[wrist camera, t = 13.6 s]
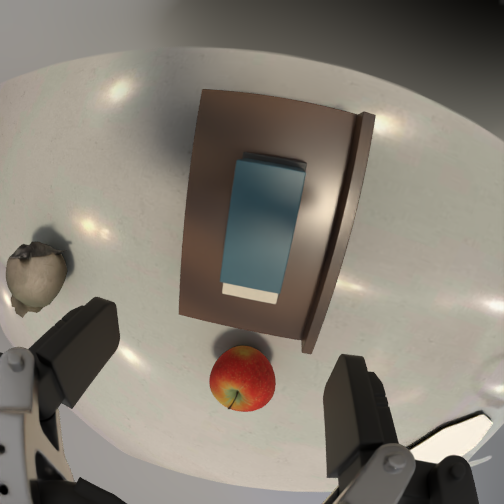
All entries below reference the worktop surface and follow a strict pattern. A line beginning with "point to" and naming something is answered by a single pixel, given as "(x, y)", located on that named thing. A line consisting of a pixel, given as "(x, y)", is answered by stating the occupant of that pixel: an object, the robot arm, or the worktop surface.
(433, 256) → the worktop surface
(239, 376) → the apple
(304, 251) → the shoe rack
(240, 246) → the teal eraser block
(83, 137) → the worktop surface
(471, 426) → the plate
